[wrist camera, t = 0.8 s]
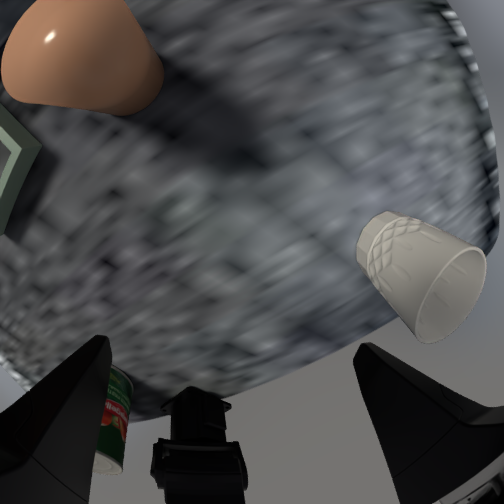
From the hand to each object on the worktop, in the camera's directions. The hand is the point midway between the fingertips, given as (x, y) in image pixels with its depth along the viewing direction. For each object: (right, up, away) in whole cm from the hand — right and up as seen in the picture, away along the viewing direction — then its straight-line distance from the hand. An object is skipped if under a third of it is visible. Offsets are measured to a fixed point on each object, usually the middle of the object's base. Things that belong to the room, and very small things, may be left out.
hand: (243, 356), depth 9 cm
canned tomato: (-17, -11, +17) cm, 27 cm away
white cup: (+13, +4, +15) cm, 20 cm away
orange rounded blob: (-9, +16, +6) cm, 19 cm away
